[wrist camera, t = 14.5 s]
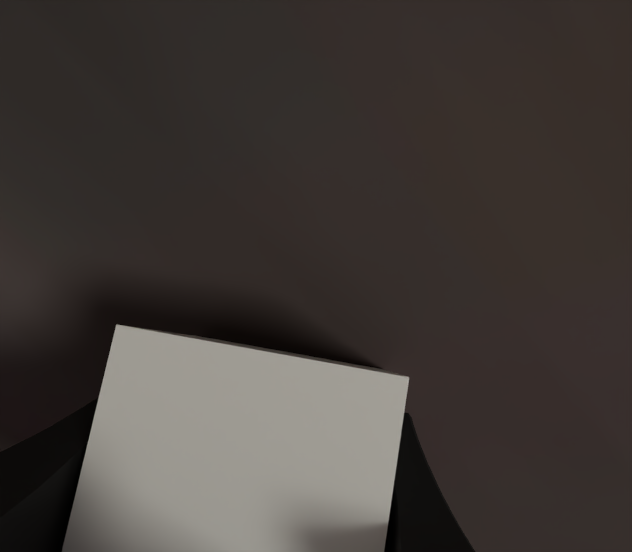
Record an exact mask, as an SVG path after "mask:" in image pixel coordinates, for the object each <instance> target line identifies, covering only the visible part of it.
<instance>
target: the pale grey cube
mask: <svg viewBox="0 0 632 552" xmlns="http://www.w3.org/2000/svg"><path fill="white" fill-rule="evenodd" d="M408 382H409V377H406V376H403V375H400V374H397V373H394V372H390V371H387V370H384V369H378V368H373V367H367V366H362V365H356V364H350V363H345V362H339V361H334V360H328V359H323V358H317V357H312V356H306V355H300V354H295V353H289V352H284V351H278V350H273V349H267V348H262V347H256V346H250V345H245V344H239V343H234V342H228V341H223V340H217V339H211V338H206V337H200V336H193V335H186V334H179V333H172V332H165V331H158V330H151V329H144V328H137V327H130V326H123V325H116V328H115V332H114V336H113V340H112V344H111V349H110V353H109V357H108V361H107V365H106V369H105V374H104V378H103V382H102V386H101V390H100V394H99V398H98V403H97V407H96V411H95V415H94V419H93V423H92V428H91V432H90V436H89V440H88V444H87V448H86V453H85V457H84V461H83V465H82V469H81V473H80V477H79V482H78V486H77V490H76V494H75V498H74V502H73V507H72V511H71V515H70V519H69V523H68V527H67V531H66V536H65V540H64V544H63V548H62V552H384V549H385V542H386V535H387V528H388V521H389V514H390V507H391V500H392V493H393V486H394V480H395V473H396V466H397V459H398V452H399V445H400V438H401V431H402V424H403V417H404V410H405V403H406V396H407V389H408Z"/></svg>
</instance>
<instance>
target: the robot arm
mask: <svg viewBox="0 0 632 552" xmlns="http://www.w3.org/2000/svg"><path fill="white" fill-rule="evenodd" d="M98 398H99V397H98ZM98 398H97V399H95V400H94V401H92V402H91V403H89V404H88V405H86V406H85V407H83V408H81V409H80V410H78V411H76V412H74V413H73V414H71V415H69V416H68V417H66V418H64V419H63V420H61V421H59V422H58V423H56V424H54V425H53V426H51V427H49V428H47V429H45V430H44V431H42V432H40V433H38V434H36V435H34V436H32V437H30V438H28V439H26V440H24V441H22V442H20V443H18V444H16V445H14V446H12V447H10V448H8V449H6V450H4V451H2V452H0V552H62V548H63V544H64V540H65V536H66V531H67V527H68V523H69V519H70V515H71V511H72V507H73V502H74V498H75V494H76V490H77V486H78V482H79V477H80V473H81V469H82V465H83V461H84V457H85V453H86V448H87V444H88V440H89V436H90V432H91V428H92V423H93V419H94V415H95V411H96V407H97V403H98ZM384 552H475V551H474V549H473V548H472V546H471V544H470V543H469V541H468V539H467V538H466V536H465V535H464V533H463V531H462V530H461V528H460V526H459V524H458V523H457V521H456V519H455V517H454V516H453V514H452V512H451V510H450V508H449V506H448V504H447V503H446V501H445V499H444V497H443V495H442V493H441V491H440V489H439V487H438V485H437V482H436V480H435V478H434V476H433V474H432V471H431V469H430V467H429V465H428V462H427V460H426V458H425V455H424V453H423V450H422V448H421V445H420V442H419V440H418V437H417V434H416V431H415V428H414V425H413V421H412V418H411V416H410V415H409V414H408V413H404V417H403V424H402V431H401V438H400V445H399V452H398V459H397V466H396V473H395V480H394V486H393V493H392V500H391V507H390V514H389V521H388V528H387V535H386V542H385V549H384Z"/></svg>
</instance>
